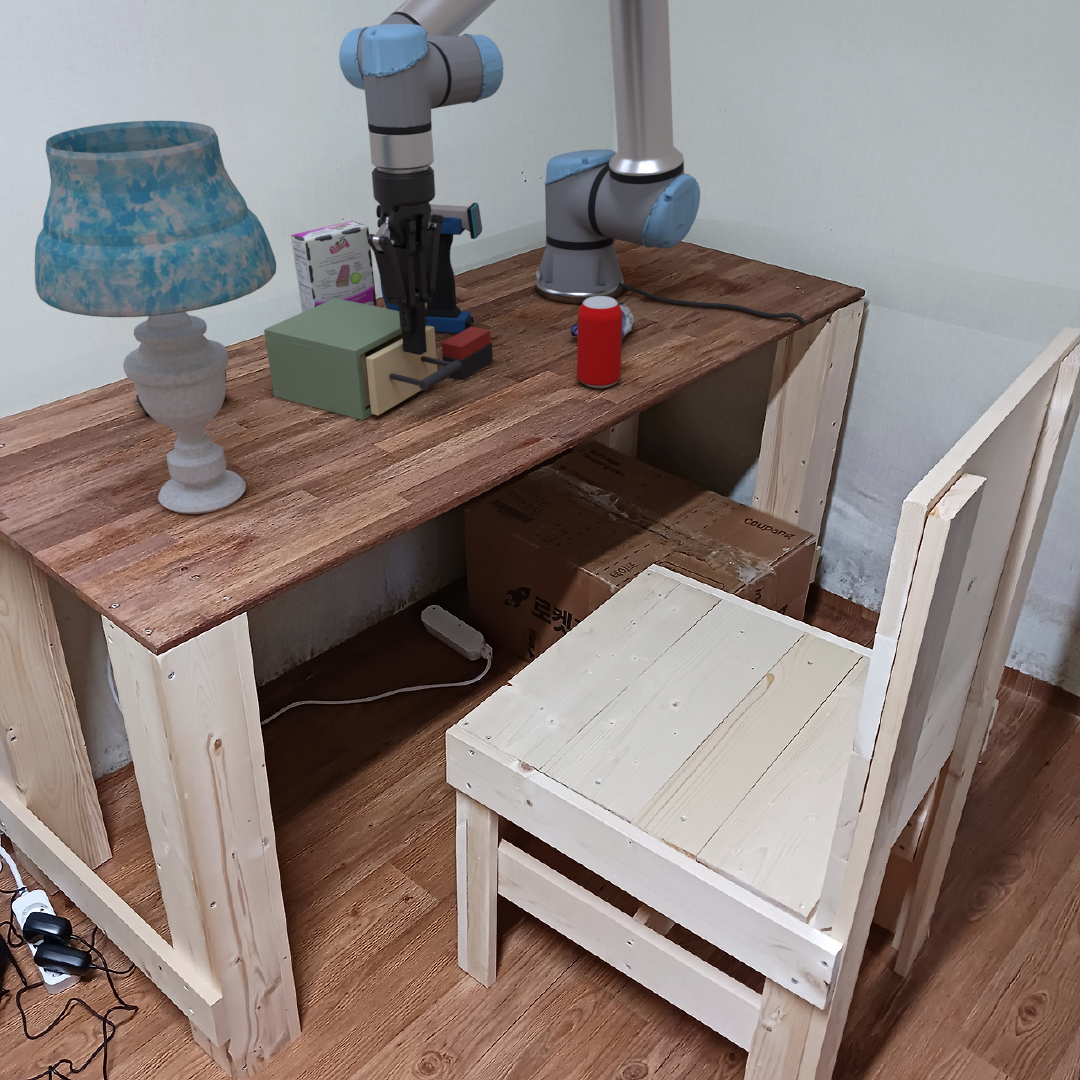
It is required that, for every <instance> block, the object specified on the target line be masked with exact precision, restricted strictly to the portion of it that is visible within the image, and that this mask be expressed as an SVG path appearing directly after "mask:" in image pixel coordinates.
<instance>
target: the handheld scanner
mask: <svg viewBox="0 0 1080 1080" xmlns="http://www.w3.org/2000/svg"><path fill="white" fill-rule="evenodd" d="M430 206H431V212H432V213H434V214H436V215H442V216H443V218H444V222H443V225H442V229H441V232H440V239H439V251H438V264H437V276H436V288H435V292H434V293H429V294H428V296H430V297H432V301H431V303H426V307H425V311H426V312H425V313H426V315H425V316H426V323H425V327H426V326H432V327H434V328H435V333H445V334H446V333H448V334H459V333H460V332H462V331H464V330H466V329H468V328H470V327H473V324H474V323H475V318H474V316H472V314H471V311H470V310H469V311H468V310H461V308H459V306H458V305H457V293H456V292H457V291H456V290H457V289H456V279H455V272H454V269H453V266H452V262H451V249H452V244H453V242H454V235H455V236H460V235H462V234H463V233H464V231H467V232H469V236H470V239H471V240H476V239H477V238H478V237H479V236H480V235H481V234H482V232H483V223H482V218H481V211H480V205H479V203H478V202H472V203H471V205H468V206H467V205H448V204H433V203H432V204H431V203H430ZM375 213H376V214H375V215H376V217H377V218H378V219H377V223H376V224H377V228H378V229H380V227H381V225H380V215H381V206H380V204H378V205H377V206H376V209H375ZM379 281H380V290H381V295H382V299H383V303H384V305H385V308H386V309H390V310H395V311H399V307H398V306H396V305H392V304H388V303H387V302H386V298H385V294H384V290H383V286H382V282H381V278H380V277H379ZM427 283H428V281H427Z"/></svg>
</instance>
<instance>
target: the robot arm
mask: <svg viewBox="0 0 1080 1080" xmlns="http://www.w3.org/2000/svg"><path fill="white" fill-rule="evenodd" d="M496 1H497V0H405V1H403V3H402V4H400V5H399V6H398V7H397V8H396V9H395V10H394V11H393V12H392V13H390V14H389V15H388V16H387V17H386V18H385V19H384V20H382V21H381V22H380V23H379V24H376V25H370V26H364V27H358V28H353V29H352V30H350V31H349V32H347V33H346V34H345V35H344V38H343V40H342V42H341V44H340V46H339V53H338V61H339V66H340V69H341V72H342V75H343V76H344V79H345V80H346V81H347V82H348V84H350V85H351V86H352V87H354V88H356V89H359V90H362V91H364V95H365V106H366V108H365V109H366V117H367V127H368V136H369V148H370V149H369V150H370V162H371V165H372V166H374V168H373V170H372V171H371V179H372V180H371V181H372V195H373V199H374V200H375V202H377V203H378V205H380V206H381V215H380V218H379V219H380V225H381V227H380V228H378V230H377V232H376V233H369V236H368V243H369V245H370V247H371V251H373V254H374V258H375V262H376V265H377V269H378V274H379V279H380V278H381V282H382V286H383V290H384V294H385V298H386V302H387V303H388V304H392V305H396V306H398V307H399V317H400V327H401V330H402V337H403V350H404V352H409V353H413V354H417V355H421V354H423V353H425V352H427V348H426V332H425V323H426V316H425V315H426V313H425V312H426V311H425V308H426V304H427V303H431V301H432V297H430V296H428V294H429V293H434V292H435V288H436V276H437V264H438V251H439V239H440V232H441V229H442V225H443V222H444V218H443V216H442V215H436V214H434V213H432V212H431V206H430V204H431V203H430V202H432V201H433V200H434V199H435V197H436V182H435V170H434V169H433V167H431V165H432V164H433V163H434V161H435V157H434V154H435V153H434V142H433V141H434V140H433V125H432V124H433V123H432V110H433V109H438V108H443V107H449V106H455V105H460V104H466V103H472V104H473V103H477V102H479V101H481V100H483V99H484V100H485V99H487V98H490V97H492V96H493V95H495V94H496V93H497V92H498V90H499V89H500V87H501V85H502V82H503V78H504V59H503V56H502V53H501V50H500V49H499V47H498V45H497V44H496V43H495V41H494V40H493V39H492V38H490V37H489V36H487V35H484V34H472V33H471V34H469V33H464V34H462V33H463V32H464V31H466V29H467V28H468V27H470V25H472V23H473V22H474V21H476V20H477V19H478V18H479V17H480V16H481V15H482V14H483V13H484V12H485V11H486V10H488V8H490V6H491V5H493V3H495V2H496ZM607 9H608V26H609V40H610V41H609V42H610V54H611V55H610V57H611V69H612V70H611V72H612V85H613V99H614V102H613V103H614V115H615V129H616V132H615V133H616V144H617V145H616V146H617V151H615V150H613V149H606V148H599V149H595V148H594V149H584V150H583V149H582V150H577V151H570V152H564V153H560V154H557V155H554V156H553V157H551V158H549V160H548V161H547V163H546V168H545V181H544V193H545V194H544V195H545V196H544V197H545V199H544V200H545V202H544V203H545V249H544V251H543V255H542V258H541V262H540V264H539V267H538V268H537V269H536V272H535V276H536V277H535V292H536V293H537V294H538V295H539V296H541V297H542V298H545V299H547V300H550V301H553V302H558V303H566V304H577V305H578V304H580V305H581V304H582V303H583V301H584V300H586V299H587V298H590V297H595V296H601V295H603V296H606V297H611V298H613V299H615V298H617V297H619V296H621V294H622V293H623V292H624V290H627V291H629V292H633V293H635V294H638V295H641V296H643V297H646V298H648V299H651V300H653V301H658V302H661V303H665V304H672V305H680V306H690V307H699V308H700V307H701V308H716V309H717V308H718V309H727V310H735V311H740V312H744V313H747V314H751V315H755V316H758V317H763V318H768V319H783V318H784V319H785V318H790V319H794V320H796V321H798V322H799V323H800V325H803V326H807V325H808V323H807V322H806V320H805V319H804V318H803V317H802V316H800V315H799V314H797V313H793V312H779V313H777V312H776V313H770V312H764V311H762V310H761V311H760V310H757V309H752V308H749V307H746V306H742V305H737V304H730V303H720V302H703V301H692V300H683V299H674V298H667V297H663V296H659V295H657V294H656V295H655V294H652V293H650V292H647V291H645V290H642V289H640V288H637V287H633V286H631V285H628V284H625V283H624V276H623V274H622V269H621V265H620V262H619V258H618V256H617V251H616V249H615V240H617V241H622V242H626V243H631V244H636V245H641V246H644V247H645V248H649V249H650V248H657V249H664V250H667V249H672V248H673V247H675V246H677V245H678V244H680V243H681V242H682V241H683V240H684V239H685V238H686V236H687V235H688V233H690V230H691V228H692V226H693V224H694V222H695V221H696V218H697V216H698V212H699V208H700V202H701V187H700V184H699V182H698V181H697V179H696V178H695V177H694V176H692V175H691V174H690V173H685V160H684V159H685V158H684V154H683V152H681V151H680V150H679V149H678V148H676V147H675V146H674V130H673V129H674V128H673V127H674V125H673V99H672V97H673V96H672V73H671V71H672V69H671V67H672V66H671V41H670V40H671V38H670V14H669V13H670V11H669V9H670V7H669V0H607ZM461 34H462V35H461ZM427 281H428V283H427ZM381 282H380V283H381Z"/></svg>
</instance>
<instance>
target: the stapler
mask: <svg viewBox="0 0 1080 1080" xmlns="http://www.w3.org/2000/svg"><path fill="white" fill-rule="evenodd" d="M441 353H442V355H441V357H442V360H443V361H448V362H453V361H455V360H458V361H460V362H461V364H462V369H461V370H459V371H457V372H456V373H454V374H452V375H451V376H449V377H448V378H454V379H459V380H461V381H462V380H465V379H466V378H467V377H470V376H471V375H473V374H474V373H476V372H478V371H479V370H481V369H483V368H485V367H486V366H487V365H489V364H491V363H493V360H494V358H493V356H494V355H493V342H492V341H491V330H489V329H485V328H481V327H480V328H479V327H475V326H471V327H470V328H468V329H466V330H464V331H462V332H460V333H456V334H455V335H453V336H451V337H449V338H448V339H446V340H444V341H442V342H441ZM443 367H445V366H442V368H443Z"/></svg>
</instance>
